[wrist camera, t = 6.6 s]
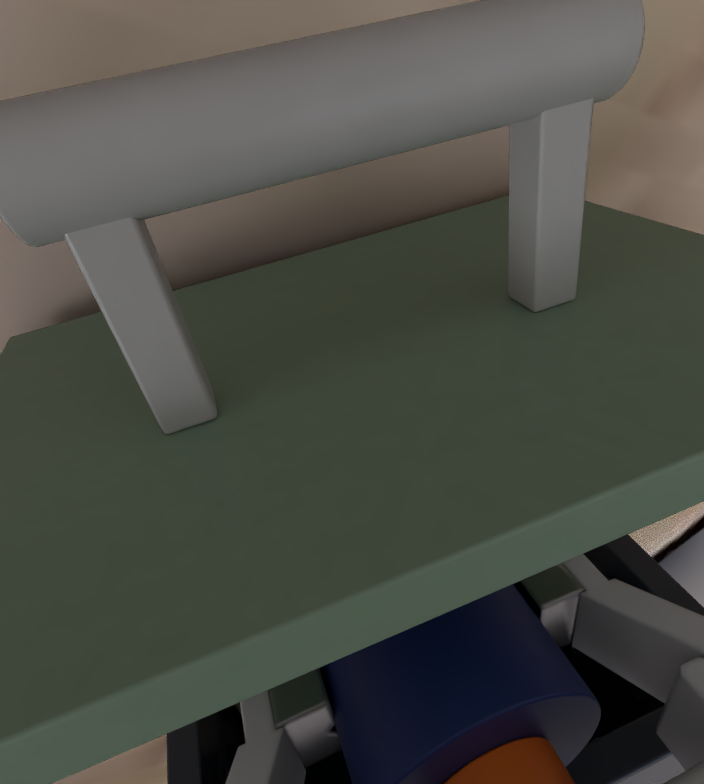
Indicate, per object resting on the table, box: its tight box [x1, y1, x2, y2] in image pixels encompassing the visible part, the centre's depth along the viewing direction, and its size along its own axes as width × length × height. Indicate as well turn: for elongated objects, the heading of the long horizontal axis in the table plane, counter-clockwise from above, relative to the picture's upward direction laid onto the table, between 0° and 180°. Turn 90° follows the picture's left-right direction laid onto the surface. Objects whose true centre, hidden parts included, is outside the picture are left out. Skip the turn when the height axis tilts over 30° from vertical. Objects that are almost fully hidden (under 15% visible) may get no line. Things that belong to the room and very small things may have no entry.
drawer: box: [0, 0, 704, 784], centre depth 11 cm, size 18×14×9 cm
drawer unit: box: [167, 534, 704, 784], centre depth 18 cm, size 14×14×10 cm
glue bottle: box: [320, 584, 601, 784], centre depth 10 cm, size 4×4×7 cm
